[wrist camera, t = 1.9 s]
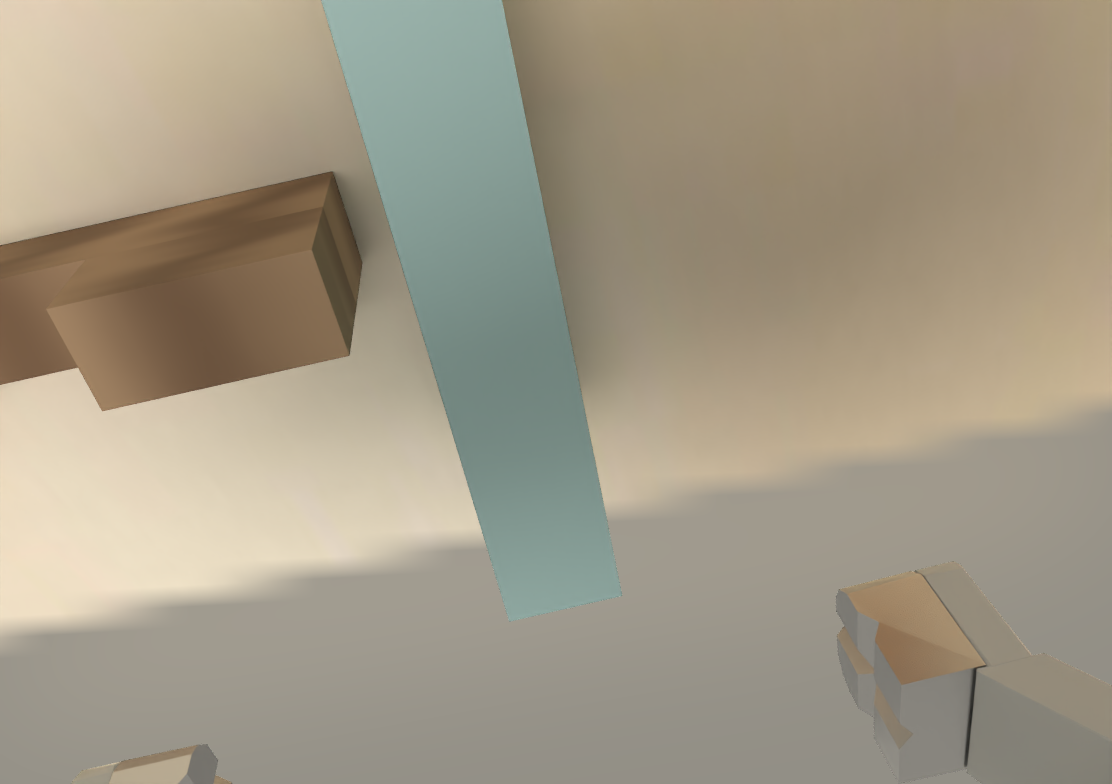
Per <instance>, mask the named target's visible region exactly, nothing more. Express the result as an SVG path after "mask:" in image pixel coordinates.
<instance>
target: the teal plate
mask: <svg viewBox="0 0 1112 784" xmlns="http://www.w3.org/2000/svg"><path fill="white" fill-rule="evenodd" d="M321 1H322V4H323V8H324V11H325V14H326V18H327V21H328V24H329V27H330V31H331V34H332V37H333V41H334V44H335V47H336V51H337V54H338V57H339V60H340V64H341V67H342V70H343V74H344V77H345V80H346V84H347V87H348V90H349V93H350V97H351V100H352V103H353V107H354V110H355V113H356V117H357V120H358V123H359V127H360V130H361V133H362V136H363V140H364V143H365V146H366V150H367V153H368V156H369V160H370V163H371V166H372V169H373V173H374V176H375V179H376V183H377V186H378V189H379V193H380V196H381V199H382V203H383V206H384V209H385V212H386V216H387V219H388V222H389V226H390V229H391V232H392V236H393V239H394V242H395V245H396V249H397V252H398V255H399V259H400V262H401V265H402V269H403V272H404V275H405V278H406V282H407V285H408V288H409V292H410V295H411V298H412V302H413V305H414V308H415V312H416V315H417V318H418V321H419V325H420V328H421V331H422V335H423V338H424V341H425V345H426V348H427V351H428V354H429V358H430V361H431V364H432V368H433V371H434V374H435V378H436V381H437V384H438V388H439V391H440V394H441V397H442V401H443V404H444V407H445V411H446V414H447V417H448V421H449V424H450V427H451V430H452V434H453V437H454V440H455V444H456V447H457V450H458V454H459V457H460V460H461V463H462V467H463V470H464V473H465V477H466V480H467V483H468V487H469V490H470V493H471V497H472V500H473V503H474V506H475V510H476V513H477V516H478V520H479V523H480V526H481V530H482V533H483V536H484V539H485V543H486V546H487V549H488V552H489V556H490V559H491V562H492V566H493V569H494V572H495V576H496V579H497V582H498V586H499V589H500V592H501V595H502V599H503V602H504V606H505V609H506V612H507V615H508V619H509V621H514V620H519V619H523V618H527V617H532V616H536V615H540V614H545V613H549V612H553V611H557V610H562V609H567V608H571V607H575V606H580V605H584V604H588V603H593V602H597V601H602V600H606V599H610V598H615V597H619V596H622V592H621V587H620V582H619V577H618V572H617V568H616V562H615V558H614V553H613V548H612V543H611V538H610V533H609V528H608V523H607V518H606V513H605V508H604V503H603V498H602V493H601V488H600V483H599V478H598V473H597V468H596V463H595V459H594V454H593V449H592V444H591V439H590V434H589V429H588V424H587V419H586V414H585V409H584V404H583V399H582V394H581V389H580V384H579V379H578V374H577V369H576V365H575V360H574V355H573V350H572V345H571V340H570V335H569V330H568V325H567V320H566V315H565V310H564V305H563V300H562V295H561V290H560V285H559V280H558V275H557V270H556V266H555V261H554V256H553V251H552V246H551V241H550V236H549V231H548V226H547V221H546V216H545V211H544V206H543V201H542V196H541V191H540V186H539V181H538V176H537V172H536V167H535V162H534V157H533V152H532V147H531V142H530V137H529V132H528V127H527V122H526V117H525V112H524V107H523V102H522V97H521V92H520V87H519V82H518V78H517V73H516V68H515V63H514V58H513V53H512V48H511V43H510V38H509V33H508V28H507V23H506V18H505V13H504V8H503V3H502V0H321Z"/></svg>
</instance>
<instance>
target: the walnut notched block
mask: <svg viewBox="0 0 1112 784" xmlns="http://www.w3.org/2000/svg"><path fill="white" fill-rule="evenodd" d="M361 269H362V260H361V257H360V254H359V251H358V248H357V245H356V242H355V239H354V236H353V233H352V230H351V227H350V224H349V221H348V218H347V215H346V212H345V209H344V205H343V202H342V199H341V196H340V193H339V190H338V187H337V184H336V181H335V178H334V175H333V172H329V173H324V174H320V175H315V176H311V177H306V178H302V179H297V180H293V181H288V182H284V183H279V184H275V185H270V186H266V187H261V188H257V189H252V190H248V191H243V192H239V193H234V194H230V195H226V196H221V197H217V198H212V199H208V200H203V201H199V202H194V203H190V204H185V205H181V206H176V207H172V208H167V209H163V210H158V211H154V212H149V213H145V214H140V215H136V216H131V217H127V218H123V219H118V220H114V221H109V222H105V223H100V224H96V225H91V226H87V227H82V228H78V229H73V230H69V231H64V232H60V233H55V234H51V235H46V236H42V237H37V238H33V239H28V240H24V241H20V242H15V243H11V244H6V245H2V246H0V385H2V384H6V383H11V382H15V381H20V380H24V379H28V378H33V377H37V376H42V375H46V374H51V373H55V372H60V371H64V370H69V369H73V368H77V367H78V368H79V370H80V372H81V374H82V375H83V377H84V379H85V381H86V383H87V384H88V386H89V388H90V390H91V392H92V393H93V395H94V397H95V399H96V401H97V403H98V404H99V406H100V408H101V410H102V411H106V410H110V409H115V408H119V407H123V406H128V405H132V404H137V403H141V402H146V401H150V400H154V399H159V398H163V397H168V396H172V395H177V394H181V393H186V392H190V391H194V390H199V389H203V388H208V387H212V386H217V385H221V384H225V383H230V382H234V381H239V380H243V379H248V378H252V377H257V376H261V375H265V374H270V373H274V372H279V371H283V370H288V369H292V368H296V367H301V366H305V365H310V364H314V363H319V362H323V361H328V360H332V359H336V358H341V357H345V356H349V355H350V348H351V341H352V334H353V326H354V319H355V312H356V305H357V298H358V291H359V284H360V276H361Z"/></svg>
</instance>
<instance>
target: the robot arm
mask: <svg viewBox="0 0 1112 784" xmlns="http://www.w3.org/2000/svg"><path fill="white" fill-rule="evenodd" d="M836 612H837V613H838V615H839V617H840V619H841V621H842V622H843V624H844V627H843V628H842V630H841V631H840V632H839V634H838V635H837V645H838V656H839V660H840V664H841V668H842V672H843V675H844V678H845V681H846V683H847V686H848V688H849V691H850V693H851V695H852V697H853V699H854V701H855V703H856V705H857V707H858V708H859V709H860V710H862V711H864V712H865V713H867V714H869V715H871V716H872V717H874V739H875V741H876V743H877V745H878V746H879V748H880V750H881V752H882V754H883V756H884V758H885V759H886V761H887V763H888V765H889V767H890V769H891V771H892V773H893V774H894V776H895V778H896V780H897V782H898V783H899V784H900V783H905V782H910V781H914V780H919V779H923V778H928V777H933V776H937V775H942V774H946V773H951V772H956V771H960V770H964V769H967V773H968V774H969V775H971V776H972V777H973V778H975V779H976V780H977V781H979V782H980V783H982V784H1112V685H1110V684H1107V683H1105V682H1103V681H1101V680H1099V679H1097V678H1095V677H1093V676H1091V675H1089V674H1087V673H1085V672H1083V671H1081V670H1078V669H1076V668H1074V667H1072V666H1070V665H1068V664H1066V663H1064V662H1062V661H1060V660H1058V659H1056V658H1054V657H1051V656H1049V655H1047V654H1045V653H1042V654H1037V655H1032V654H1031V653H1030V652H1029V651H1028V649H1027V648H1026V647H1025V645H1024V644H1023V643H1022V642H1021V640H1020V639H1019V638H1018V637H1017V635H1016V634H1015V633H1014V632H1013V630H1012V629H1011V628H1010V627H1009V625H1008V624H1007V623H1006V621H1005V620H1004V619H1003V618H1002V616H1001V615H1000V614H999V613H998V611H997V610H996V609H995V607H994V606H993V605H992V604H991V602H990V601H989V600H988V599H987V597H986V596H985V595H984V594H983V592H982V591H981V590H980V588H979V587H978V586H977V585H976V583H974V581H973V580H972V578H971V577H970V576H969V575H968V573H966V571H965V570H964V568H963V567H962V566H961V565H959V564H958V563H956V562H954V561H952V562H948V563H944V564H940V565H935V566H931V567H928V568H923V569H920V570H915V571H914V572H912V571H909V572H905V573H901V574H898V575H894V576H890V577H886V578H882V579H878V580H874V581H870V582H866V583H862V584H858V585H854V586H850V587H847V588H842V589H839V590H838V593H837V596H836ZM217 764H218V759H217V758H216V756H215V755H214V753H213V752H212V750H211V749H210V748H209V746H208V745H207V744H203V745H195V746H190V747H186V748H181V749H177V750H171V751H167V752H162V753H158V754H153V755H149V756H143V757H139V758H134V759H129V760H125V761H121V762H118V763H113V764H109V765H104V766H100V767H95V768H91V769H86V770H82V771H81V772H80V773H79V774H78V775H77V777H76V778H75V779H74V780H73V781H72V783H71V784H232V782H230V781H227V780H225V779H223V778H221V777H218V776H216V775H215V774H216V769H217Z"/></svg>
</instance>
